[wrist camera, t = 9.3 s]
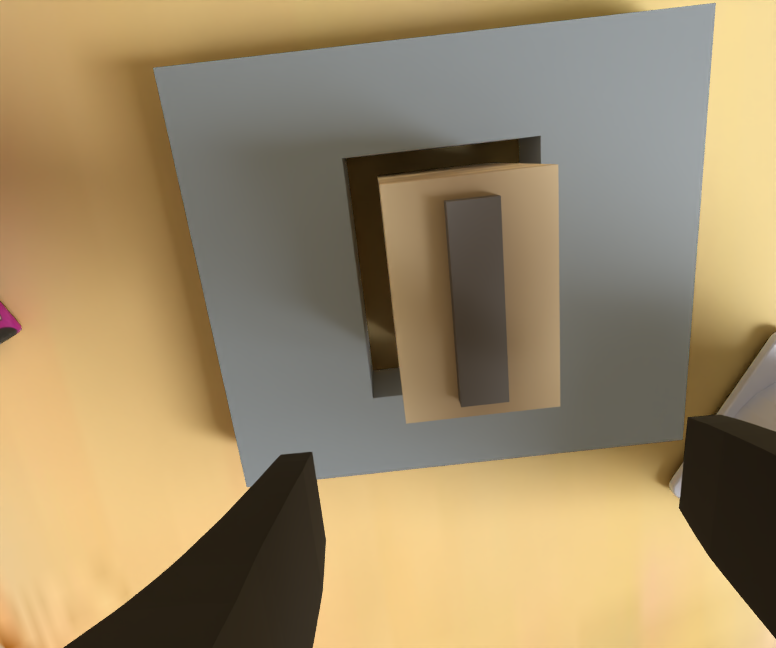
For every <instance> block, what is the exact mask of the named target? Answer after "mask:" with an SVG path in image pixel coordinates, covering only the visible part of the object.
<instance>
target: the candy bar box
mask: <svg viewBox="0 0 776 648" xmlns="http://www.w3.org/2000/svg"><path fill="white" fill-rule="evenodd" d="M21 330H22V328H21V325H20V324H19V323H18V322H17V320H16V319H15V318H14V317H13V316H12V315H11V314H10V312H9V311H8V310H7V309H6V308H5V307H4V305H3V304H2V303H1V302H0V344H1V343H3V342H4V341H6V340H8V339H9V338H11V337H12V336H14V335H16V334H17V333H18V332H20V331H21Z"/></svg>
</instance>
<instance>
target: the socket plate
mask: <svg viewBox="0 0 776 648" xmlns="http://www.w3.org/2000/svg"><path fill="white" fill-rule="evenodd" d="M715 5H716V3H711V4H703V5H694V6H685V7H677V8H668V9H659V10H651V11H642V12H633V13H625V14H616V15H607V16H598V17H590V18H581V19H572V20H564V21H555V22H546V23H538V24H529V25H520V26H512V27H503V28H494V29H486V30H477V31H468V32H460V33H451V34H442V35H434V36H425V37H416V38H407V39H399V40H390V41H381V42H373V43H364V44H355V45H347V46H338V47H329V48H321V49H312V50H303V51H295V52H286V53H277V54H269V55H260V56H251V57H243V58H234V59H225V60H217V61H208V62H199V63H190V64H182V65H173V66H164V67H156V68H153V70H154V75H155V79H156V83H157V88H158V92H159V97H160V101H161V106H162V110H163V115H164V119H165V124H166V128H167V133H168V137H169V141H170V146H171V150H172V155H173V159H174V164H175V168H176V173H177V177H178V182H179V186H180V191H181V195H182V200H183V204H184V208H185V213H186V217H187V222H188V226H189V231H190V235H191V240H192V244H193V249H194V253H195V258H196V262H197V267H198V271H199V275H200V280H201V284H202V289H203V293H204V298H205V302H206V307H207V311H208V316H209V320H210V325H211V329H212V334H213V338H214V342H215V347H216V351H217V356H218V360H219V365H220V369H221V374H222V378H223V383H224V387H225V392H226V396H227V401H228V405H229V409H230V414H231V418H232V423H233V427H234V432H235V436H236V441H237V445H238V450H239V454H240V459H241V463H242V467H243V472H244V476H245V481H246V485H247V487H251V486H252V485H253V484H254V483H255V482H256V481H257V480H258V479H259V478H260V476H261V475H262V474H263V473H264V472H265V471H266V470H267V469H268V468H269V467H270V465H271V464H272V463H273V462H274V461H275V460H276V459H277V458H278V457H279V456H280V455H281V454H292V453H303V452H312V453H313V460H314V466H315V473H316V479H326V478H335V477H344V476H353V475H363V474H372V473H381V472H390V471H399V470H409V469H418V468H427V467H436V466H445V465H455V464H464V463H473V462H482V461H491V460H501V459H510V458H519V457H528V456H538V455H547V454H556V453H565V452H574V451H584V450H593V449H602V448H611V447H620V446H630V445H639V444H648V443H657V442H666V441H676V440H683V429H684V415H685V402H686V389H687V376H688V362H689V349H690V336H691V323H692V309H693V296H694V283H695V270H696V256H697V243H698V230H699V217H700V203H701V190H702V177H703V164H704V150H705V137H706V124H707V111H708V97H709V84H710V71H711V58H712V44H713V31H714V18H715ZM514 139H518V144H519V163H527V164H558V182H559V305H560V407H551V408H542V409H533V410H524V411H515V412H506V413H497V414H488V415H479V416H470V417H461V418H452V419H443V420H434V421H425V422H416V423H408V424H406V418H405V410H404V402H403V394H402V386H401V378H400V370H399V368H390V369H381V370H373V366H372V358H371V350H370V342H369V335H368V327H367V319H366V311H365V303H364V295H363V287H362V279H361V271H360V263H359V255H358V247H357V240H356V232H355V224H354V216H353V208H352V200H351V192H350V184H349V176H348V168H347V160H346V159H347V158H356V157H364V156H373V155H382V154H391V153H400V152H408V151H417V150H426V149H435V148H444V147H453V146H461V145H470V144H479V143H488V142H497V141H505V140H514Z"/></svg>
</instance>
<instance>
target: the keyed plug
mask: <svg viewBox="0 0 776 648" xmlns="http://www.w3.org/2000/svg"><path fill="white" fill-rule="evenodd" d="M377 178H378V187H379V196H380V205H381V213H382V222H383V231H384V240H385V249H386V258H387V267H388V276H389V285H390V294H391V303H392V312H393V321H394V330H395V338H396V346H397V354H398V362H399V370H400V378H401V386H402V394H403V402H404V410H405V418H406V424H408V423H416V422H425V421H434V420H443V419H452V418H461V417H470V416H479V415H488V414H497V413H506V412H515V411H524V410H533V409H542V408H551V407H560V305H559V182H558V164H527V163H482V164H473V165H465V166H456V167H447V168H439V169H430V170H421V171H413V172H404V173H395V174H387V175H378V176H377Z"/></svg>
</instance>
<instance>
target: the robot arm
mask: <svg viewBox="0 0 776 648" xmlns="http://www.w3.org/2000/svg"><path fill="white" fill-rule="evenodd" d="M669 488H670V490H671V492H672V493H673V494H674V495H675V496H677V497H678V498H680V503H679V509H680V511H681V512H682V514H683V516H684V517H685V519H686V521H687V522H688V524H689V526H690V527H691V529H692V531H693V532H694V534H695V536H696V537H697V539H698V540H699V542H700V543H701V545H702V546H703V548H704V550H705V551H706V553H707V554H708V556H709V557H710V558H711V560H712V561H713V562H714V563H715V565H716V566H717V567H718V569H719V570H720V571H721V572H722V574H723V575H724V576H725V577H726V579H727V580H728V581H729V582H730V583H731V585H732V586H733V587H734V588H735V590H736V591H737V592H738V593H739V595H740V596H741V597H742V598H743V600H744V601H745V602H746V603H747V604H748V606H749V607H750V608H751V609H752V610H753V612H754V613H755V614H756V615H757V617H758V618H759V619H760V620H761V621H762V623H763V624H764V625H765V626H766V628H767V629H768V630H769V631H770V632H771V634H772V635H773V636H774V637H775V638H776V332H775V333H773V334H772V335H771V336H770V338H769V339H768V341H767V342H766V343H765V345H764V346H763V348H762V349H761V351H760V352H759V354H758V355H757V356H756V358H755V359H754V361H753V362H752V364H751V365H750V367H749V368H748V369H747V371H746V372H745V374H744V375H743V377H742V378H741V379H740V381H739V382H738V384H737V385H736V387H735V388H734V390H733V391H732V392H731V394H730V395H729V397H728V398H727V400H726V401H725V403H724V404H723V405H722V407H721V408H720V410H719V411H718V413H717V414H716V415H709V416H698V417H688V420H687V431H686V441H685V451H684V462H683V463H682V465H681V466H680V468H679V469H678V470H677V472H676V473H675V475H674V476H673V478H672V479H671V481H670V483H669ZM325 545H326V538H325V531H324V525H323V518H322V512H321V505H320V499H319V492H318V486H317V479H316V473H315V466H314V460H313V453H312V452H303V453H292V454H281V455H280V456H279V457H278V458H277V459H276V460H275V461H274V462H273V463H272V464H271V465H270V467H269V468H268V469H267V470H266V471H265V472H264V473H263V474H262V475H261V476H260V478H259V479H258V480H257V481H256V482H255V483H254V484H253V485H252V486H251V487H250V489H249V490H248V491H247V492H246V493H245V494H244V495H243V496H242V497H241V498H240V499H239V500H238V501H237V502H236V504H235V505H234V506H233V507H232V508H231V509H230V510H229V511H228V512H227V513H226V514H225V515H224V516H223V517H222V518H221V519H220V520H219V521H218V522H217V523H216V524H215V525H214V526H213V527H212V528H211V529H210V530H209V531H208V532H207V533H206V534H205V535H203V536H202V537H201V538H200V539H199V540H198V541H197V542H196V543H195V544H194V545H193V546H192V547H191V548H190V549H189V550H188V551H187V552H186V553H185V554H184V555H183V556H182V557H180V558H179V559H178V560H177V561H176V562H175V563H174V564H173V565H171V566H170V567H169V568H168V569H167V570H166V571H164V572H163V573H162V574H161V575H160V576H159V577H157V578H156V579H155V580H154V581H152V582H151V583H150V584H149V585H148V586H146V587H145V588H144V589H143V590H141V591H140V592H139V593H138V594H136V595H135V596H134V597H133V598H131V599H130V600H129V601H128V602H126V603H125V604H124V605H122V606H121V607H120V608H118V609H117V610H116V611H115V612H113V613H112V614H110V615H109V616H108V617H106V618H105V619H103V620H102V621H100V622H99V623H98V624H96V625H95V626H93V627H92V628H91V629H89V630H88V631H86V632H85V633H84V634H82V635H81V636H79V637H78V638H76V639H75V640H74V641H72V642H71V643H69V644H68V645H67V646H65V647H64V648H313V643H314V637H315V632H316V626H317V620H318V615H319V609H320V603H321V598H322V592H323V578H324V563H325Z"/></svg>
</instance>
